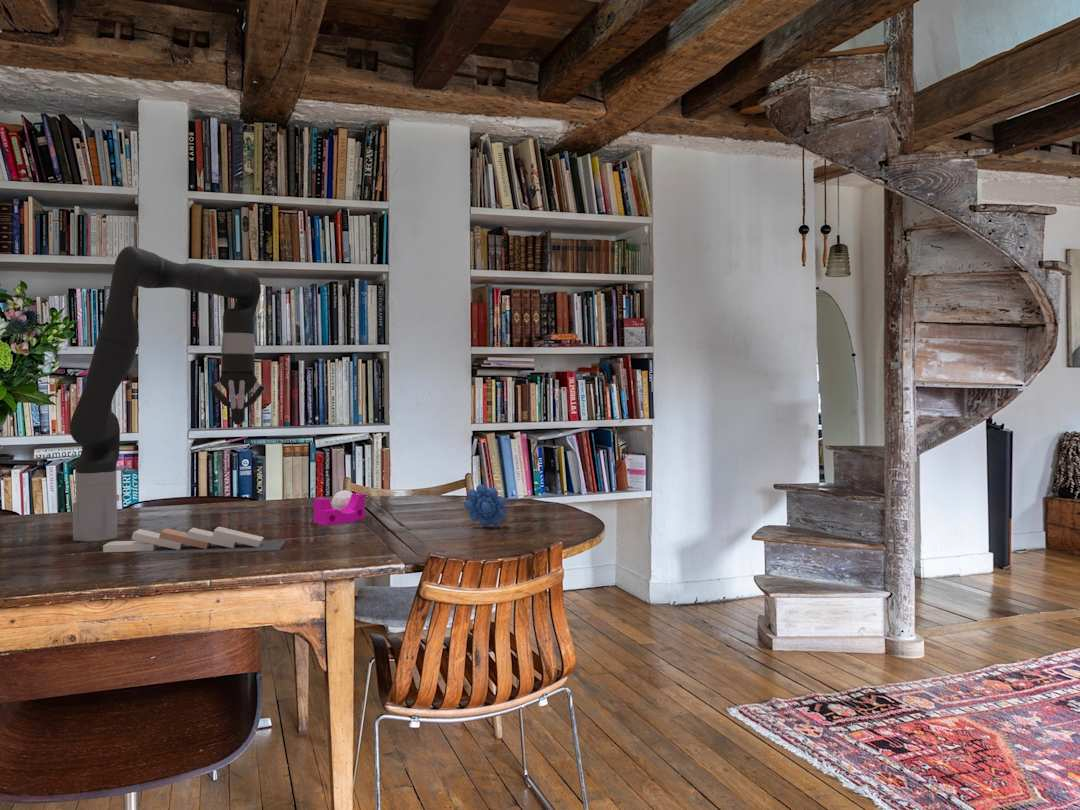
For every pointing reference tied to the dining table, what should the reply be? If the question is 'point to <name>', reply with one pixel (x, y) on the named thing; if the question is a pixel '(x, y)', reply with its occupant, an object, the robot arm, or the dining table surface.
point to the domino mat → (217, 548)
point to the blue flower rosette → (485, 506)
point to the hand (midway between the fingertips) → (238, 424)
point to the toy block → (333, 516)
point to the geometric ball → (341, 499)
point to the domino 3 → (181, 538)
